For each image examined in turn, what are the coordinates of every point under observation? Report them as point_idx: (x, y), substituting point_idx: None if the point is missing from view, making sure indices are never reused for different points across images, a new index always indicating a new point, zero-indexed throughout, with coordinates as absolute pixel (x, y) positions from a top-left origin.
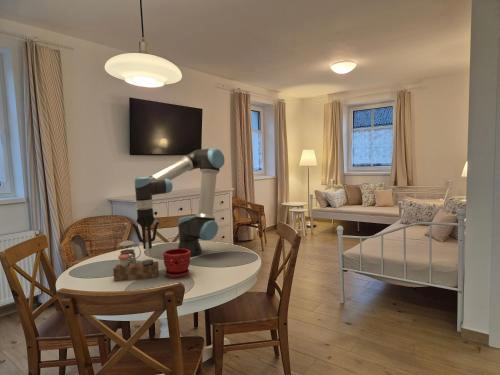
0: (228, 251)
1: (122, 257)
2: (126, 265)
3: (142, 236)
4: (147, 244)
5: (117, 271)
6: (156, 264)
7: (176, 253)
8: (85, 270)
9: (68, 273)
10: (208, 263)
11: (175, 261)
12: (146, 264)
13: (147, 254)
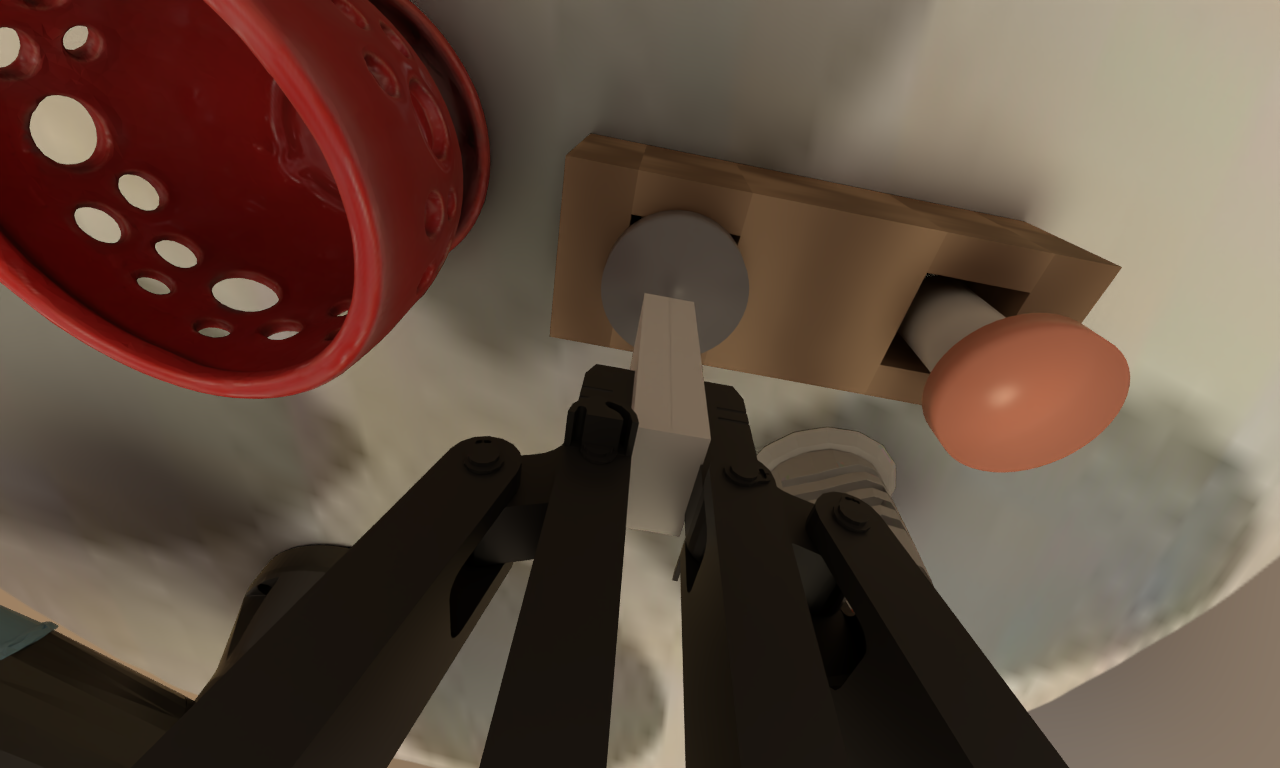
0: (50, 539)
1: (1089, 330)
2: (944, 306)
3: (811, 625)
4: (660, 410)
5: (1050, 244)
6: (565, 213)
7: (274, 350)
8: (1111, 576)
9: (1243, 567)
10: None
11: (349, 292)
12: (698, 214)
13: (674, 309)
